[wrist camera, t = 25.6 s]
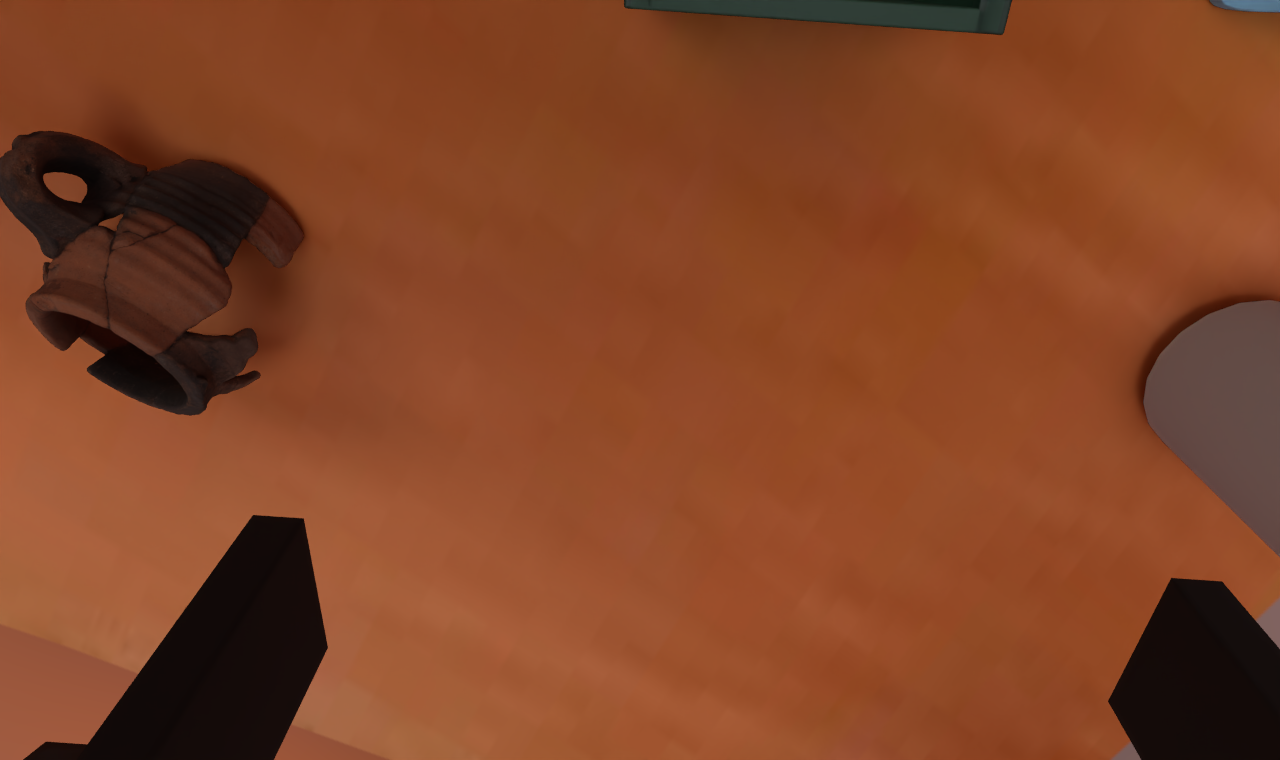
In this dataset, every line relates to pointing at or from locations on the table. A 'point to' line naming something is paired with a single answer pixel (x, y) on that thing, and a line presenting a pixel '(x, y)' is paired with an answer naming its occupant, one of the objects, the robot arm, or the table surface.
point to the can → (1226, 408)
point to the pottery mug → (143, 264)
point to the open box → (855, 12)
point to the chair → (1249, 5)
